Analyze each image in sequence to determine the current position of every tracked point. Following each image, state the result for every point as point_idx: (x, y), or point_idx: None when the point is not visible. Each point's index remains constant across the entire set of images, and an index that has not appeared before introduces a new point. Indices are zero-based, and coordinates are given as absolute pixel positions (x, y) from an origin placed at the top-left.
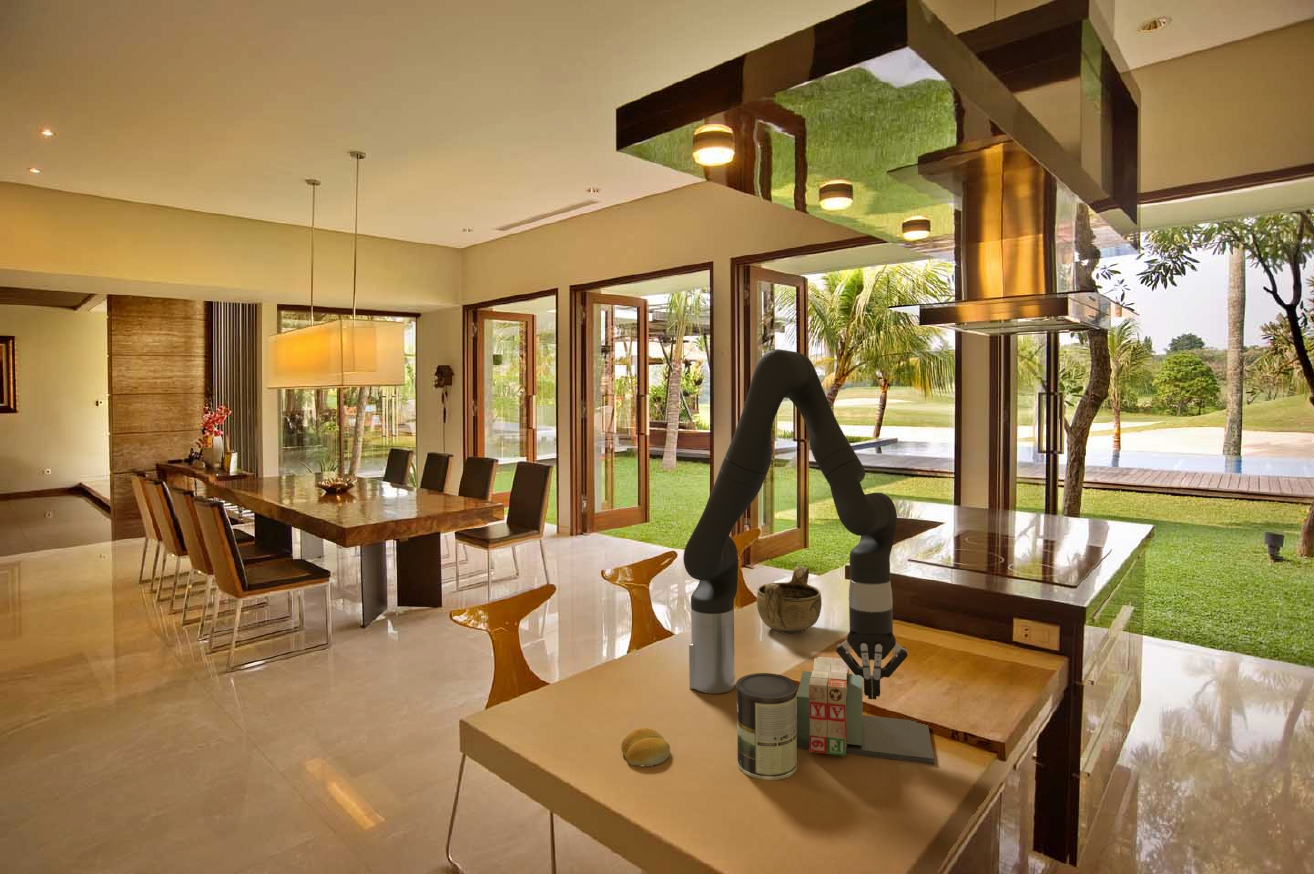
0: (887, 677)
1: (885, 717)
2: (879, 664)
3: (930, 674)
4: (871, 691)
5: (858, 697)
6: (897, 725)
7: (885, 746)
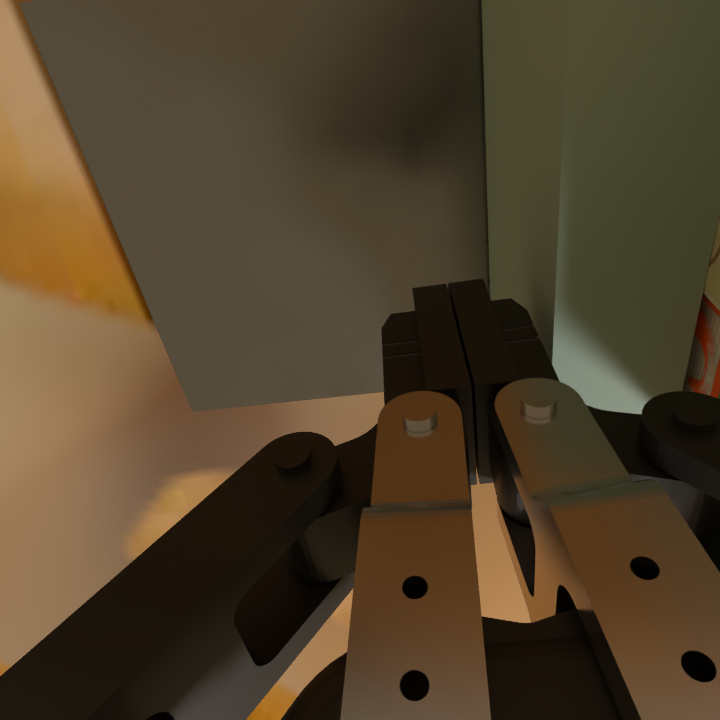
0: (294, 433)
1: (380, 391)
2: (384, 544)
3: (286, 700)
4: (461, 312)
5: (606, 88)
6: (312, 335)
7: (329, 50)
